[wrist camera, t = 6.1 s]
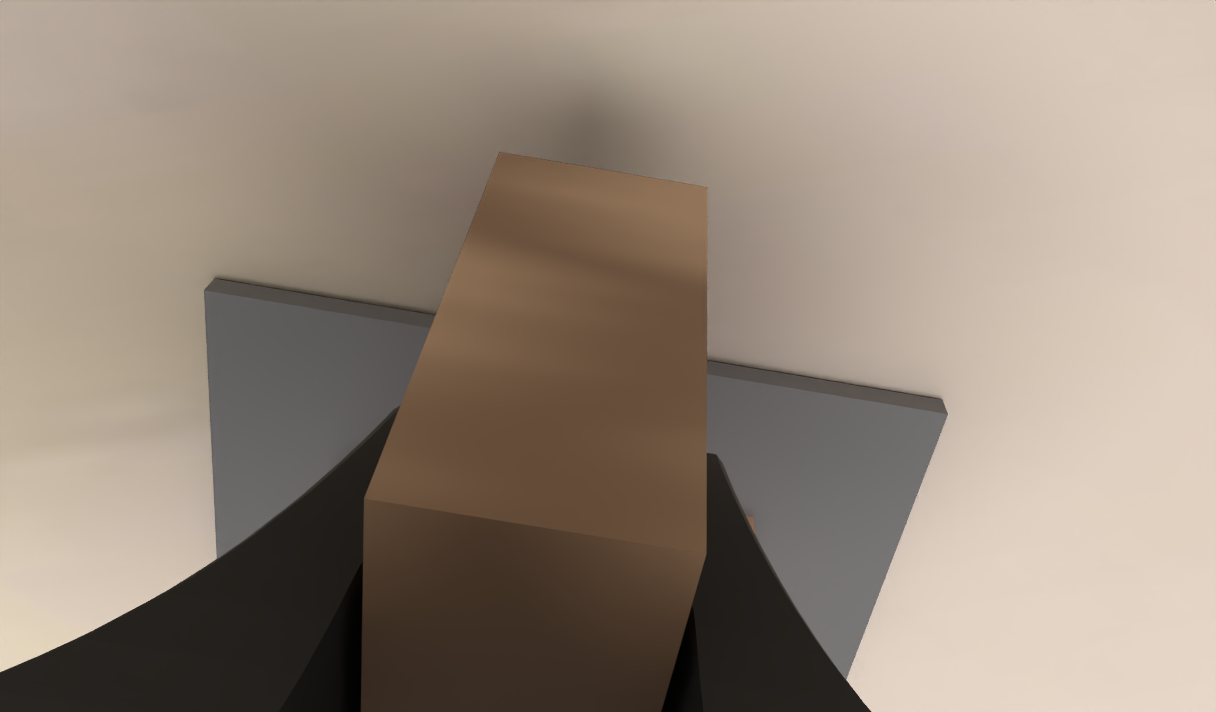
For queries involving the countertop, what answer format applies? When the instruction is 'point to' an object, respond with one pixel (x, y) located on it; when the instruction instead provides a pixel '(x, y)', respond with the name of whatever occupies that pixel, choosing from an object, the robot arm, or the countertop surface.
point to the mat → (736, 432)
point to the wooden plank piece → (547, 457)
